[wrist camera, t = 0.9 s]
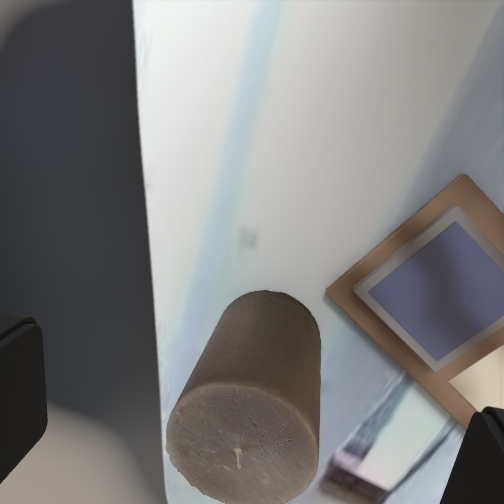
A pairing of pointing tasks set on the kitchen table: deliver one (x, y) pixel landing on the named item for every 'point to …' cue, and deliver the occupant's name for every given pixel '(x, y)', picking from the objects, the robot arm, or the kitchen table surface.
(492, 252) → the board
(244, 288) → the kitchen table surface
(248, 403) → the pillar candle
